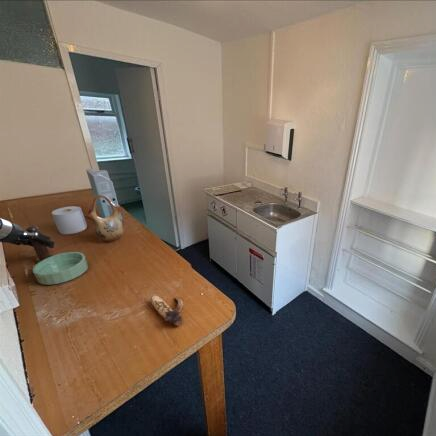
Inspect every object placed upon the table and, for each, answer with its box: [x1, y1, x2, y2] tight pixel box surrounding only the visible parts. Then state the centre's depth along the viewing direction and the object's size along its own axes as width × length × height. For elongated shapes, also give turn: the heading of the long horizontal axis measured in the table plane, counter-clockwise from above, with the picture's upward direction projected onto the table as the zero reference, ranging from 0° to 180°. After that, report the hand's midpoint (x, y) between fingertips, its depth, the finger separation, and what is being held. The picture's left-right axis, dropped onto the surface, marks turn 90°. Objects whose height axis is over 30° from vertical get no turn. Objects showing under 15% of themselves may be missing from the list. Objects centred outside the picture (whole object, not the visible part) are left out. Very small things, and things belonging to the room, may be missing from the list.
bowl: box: [32, 251, 89, 286], centre depth 96 cm, size 16×16×6 cm
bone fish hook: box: [150, 294, 184, 327], centre depth 83 cm, size 9×5×18 cm
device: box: [85, 168, 123, 223], centre depth 137 cm, size 16×8×30 cm, turn 48°
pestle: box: [25, 225, 54, 263], centre depth 100 cm, size 5×5×18 cm
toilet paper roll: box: [51, 206, 88, 235], centre depth 127 cm, size 12×12×12 cm
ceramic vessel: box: [83, 195, 125, 243], centre depth 118 cm, size 16×9×25 cm, turn 140°
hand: (47, 245), depth 105 cm, fingers closed on pestle, 4 cm apart
